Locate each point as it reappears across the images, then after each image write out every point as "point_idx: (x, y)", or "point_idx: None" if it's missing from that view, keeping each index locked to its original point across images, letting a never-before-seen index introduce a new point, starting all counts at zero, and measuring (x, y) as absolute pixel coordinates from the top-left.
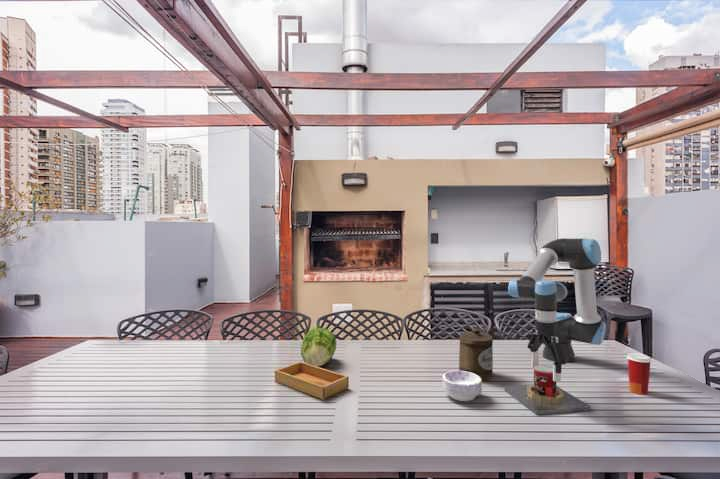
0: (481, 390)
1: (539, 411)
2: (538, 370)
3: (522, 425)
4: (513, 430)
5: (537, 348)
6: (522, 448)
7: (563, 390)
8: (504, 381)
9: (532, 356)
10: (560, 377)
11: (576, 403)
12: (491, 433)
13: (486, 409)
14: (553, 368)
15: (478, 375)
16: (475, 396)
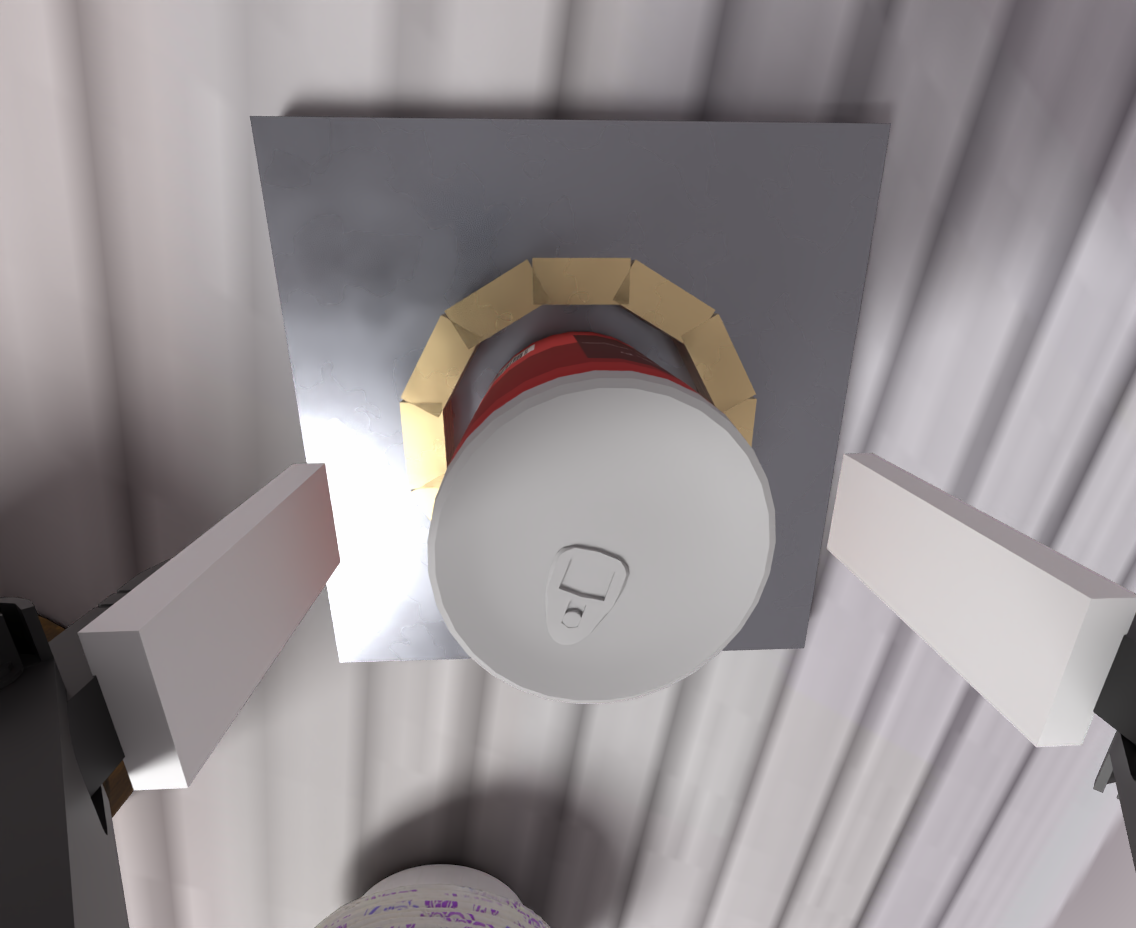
0: (503, 908)
1: (805, 623)
2: (646, 686)
3: (872, 762)
4: (899, 823)
5: (78, 791)
6: (1049, 852)
7: (472, 126)
8: (142, 553)
9: (241, 703)
10: (905, 476)
11: (789, 228)
12: (884, 915)
13: (641, 855)
14: (968, 668)
15: (116, 789)
16: (504, 893)
